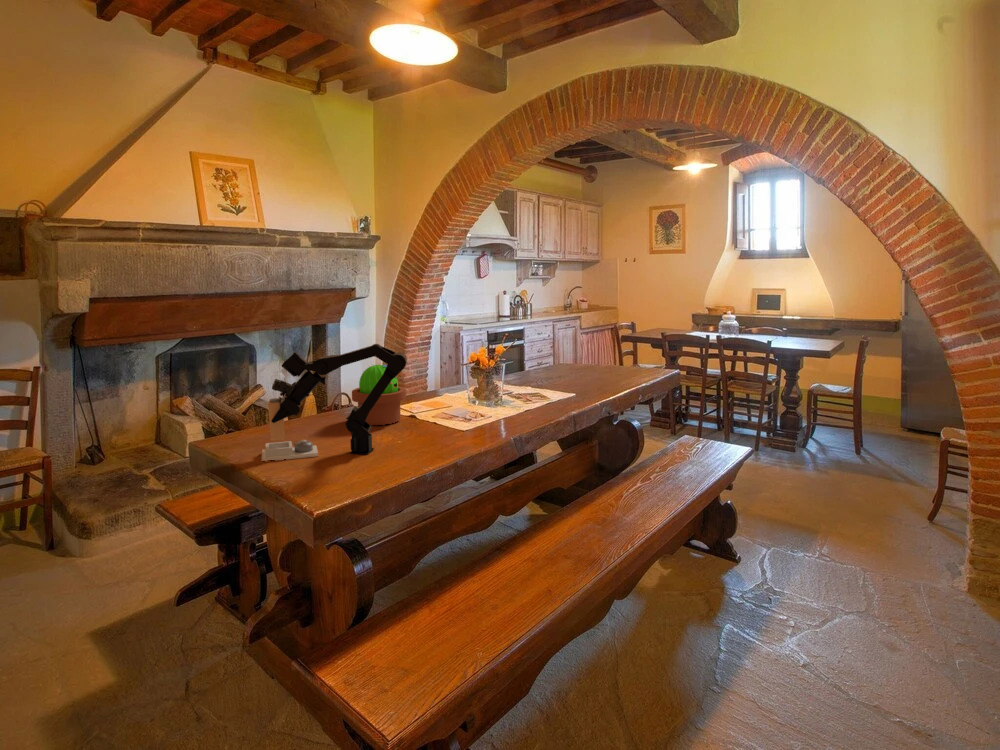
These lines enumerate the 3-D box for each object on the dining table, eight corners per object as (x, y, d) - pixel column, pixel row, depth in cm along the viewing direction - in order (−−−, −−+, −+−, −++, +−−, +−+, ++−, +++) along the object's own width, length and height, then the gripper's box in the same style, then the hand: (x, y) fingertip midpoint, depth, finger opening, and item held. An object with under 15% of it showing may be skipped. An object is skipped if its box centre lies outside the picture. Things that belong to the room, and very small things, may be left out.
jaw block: (284, 436, 202) (282, 397, 199) (285, 439, 198) (282, 400, 195) (270, 437, 200) (267, 398, 198) (270, 441, 196) (267, 401, 194)
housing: (316, 448, 210) (315, 435, 209) (318, 456, 200) (317, 443, 200) (262, 453, 203) (261, 440, 203) (261, 461, 194) (260, 448, 193)
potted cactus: (343, 425, 241) (341, 366, 237) (367, 413, 262) (365, 358, 258) (393, 429, 236) (391, 368, 232) (413, 416, 257) (412, 360, 253)
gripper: (284, 366, 205) (253, 400, 203) (286, 375, 188) (252, 411, 186) (309, 387, 209) (279, 419, 207) (313, 397, 192) (280, 432, 190)
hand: (272, 420), depth 197 cm, fingers closed on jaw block, 4 cm apart
